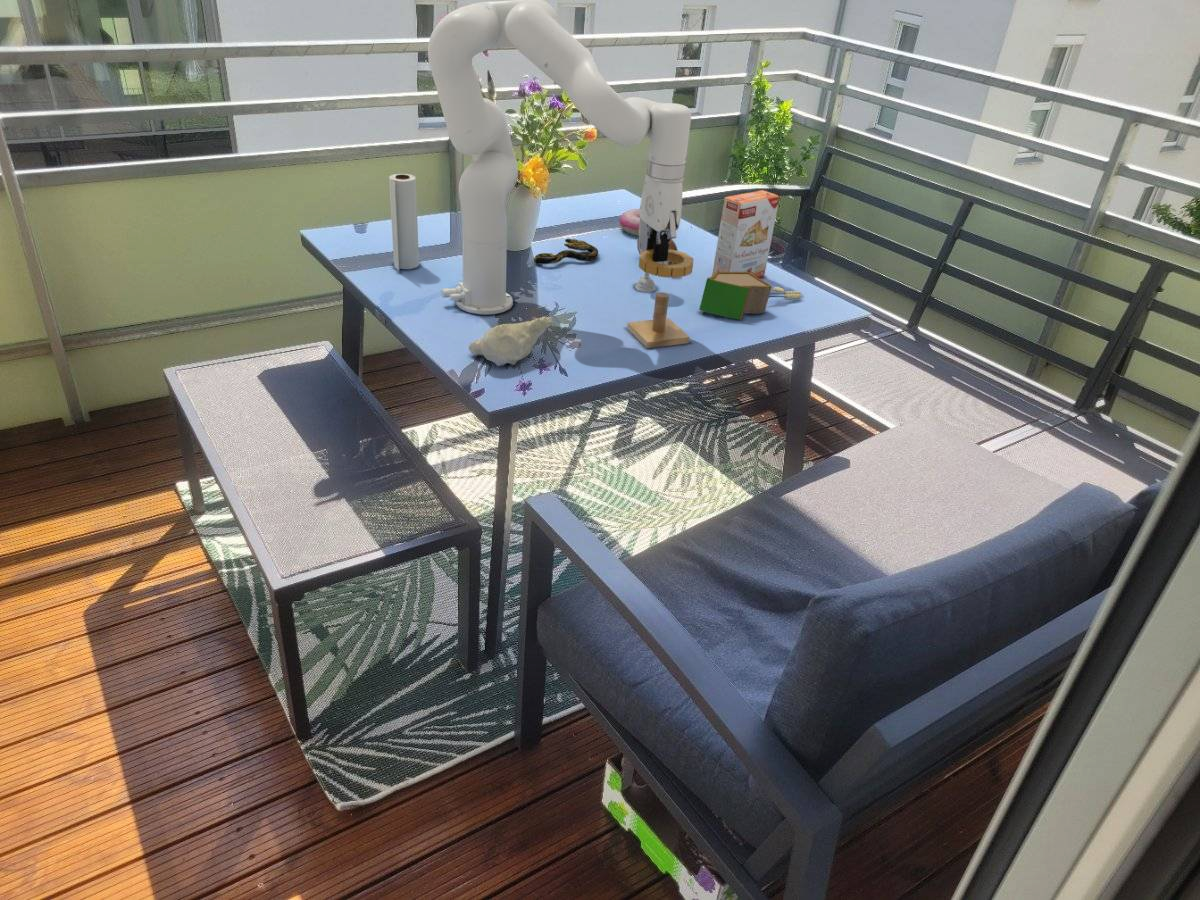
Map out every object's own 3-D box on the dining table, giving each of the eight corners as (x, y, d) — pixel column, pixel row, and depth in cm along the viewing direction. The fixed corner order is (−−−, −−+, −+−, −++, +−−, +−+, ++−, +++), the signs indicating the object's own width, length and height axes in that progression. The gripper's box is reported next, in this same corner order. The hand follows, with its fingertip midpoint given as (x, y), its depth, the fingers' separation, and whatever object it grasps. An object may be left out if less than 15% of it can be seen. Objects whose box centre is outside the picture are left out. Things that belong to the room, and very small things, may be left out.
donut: (618, 237, 246) (619, 219, 244) (619, 221, 257) (620, 204, 255) (667, 241, 246) (669, 223, 244) (666, 225, 258) (668, 208, 255)
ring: (653, 279, 181) (654, 270, 180) (630, 260, 189) (631, 250, 188) (701, 275, 185) (703, 265, 184) (677, 255, 193) (678, 246, 192)
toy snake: (538, 248, 220) (526, 237, 228) (537, 266, 222) (525, 255, 231) (607, 246, 227) (592, 235, 235) (605, 264, 229) (591, 253, 237)
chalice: (657, 295, 214) (665, 221, 204) (628, 291, 215) (635, 217, 205) (661, 284, 220) (669, 211, 210) (633, 280, 221) (641, 207, 211)
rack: (646, 348, 190) (651, 306, 184) (626, 328, 197) (630, 287, 192) (688, 343, 193) (694, 301, 188) (667, 323, 201) (672, 283, 196)
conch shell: (467, 381, 176) (524, 349, 169) (453, 346, 177) (510, 313, 169) (512, 375, 189) (567, 345, 182) (498, 343, 190) (553, 312, 182)
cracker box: (728, 288, 221) (741, 203, 210) (710, 279, 225) (722, 196, 214) (766, 277, 229) (781, 195, 218) (748, 269, 233) (762, 188, 222)
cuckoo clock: (783, 300, 225) (685, 301, 210) (791, 270, 222) (692, 269, 207) (814, 318, 217) (715, 320, 202) (824, 287, 213) (723, 287, 198)
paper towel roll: (409, 259, 222) (405, 171, 211) (424, 266, 219) (421, 177, 207) (384, 265, 218) (379, 175, 206) (399, 273, 214) (394, 182, 203)
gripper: (631, 159, 185) (624, 246, 195) (667, 182, 173) (657, 274, 183) (664, 158, 188) (655, 244, 198) (701, 180, 176) (690, 271, 185)
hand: (656, 257), depth 190 cm, fingers closed on ring, 2 cm apart
